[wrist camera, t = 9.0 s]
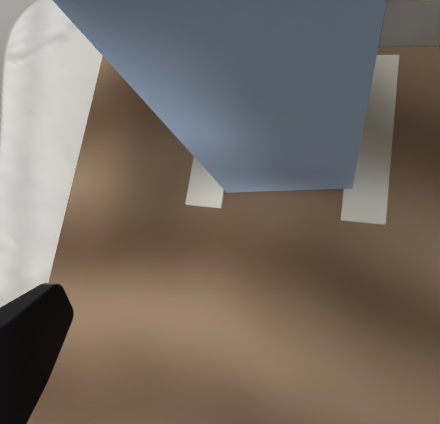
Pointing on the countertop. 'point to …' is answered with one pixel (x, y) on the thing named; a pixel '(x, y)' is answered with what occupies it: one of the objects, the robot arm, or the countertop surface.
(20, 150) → the countertop surface
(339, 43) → the light blue block
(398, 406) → the board
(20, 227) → the countertop surface
